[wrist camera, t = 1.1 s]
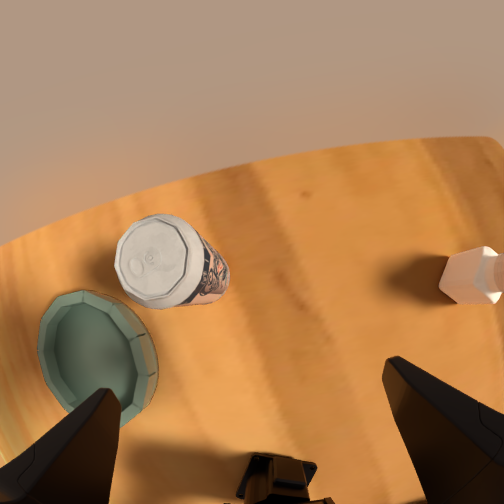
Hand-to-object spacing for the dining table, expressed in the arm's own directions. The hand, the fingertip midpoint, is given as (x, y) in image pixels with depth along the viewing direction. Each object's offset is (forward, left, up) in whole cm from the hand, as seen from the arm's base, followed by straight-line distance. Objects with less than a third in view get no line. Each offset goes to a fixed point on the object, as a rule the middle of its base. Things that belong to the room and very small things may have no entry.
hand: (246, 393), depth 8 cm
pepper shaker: (+9, -18, -16) cm, 26 cm away
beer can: (+3, +6, -16) cm, 17 cm away
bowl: (-8, +14, -16) cm, 22 cm away
